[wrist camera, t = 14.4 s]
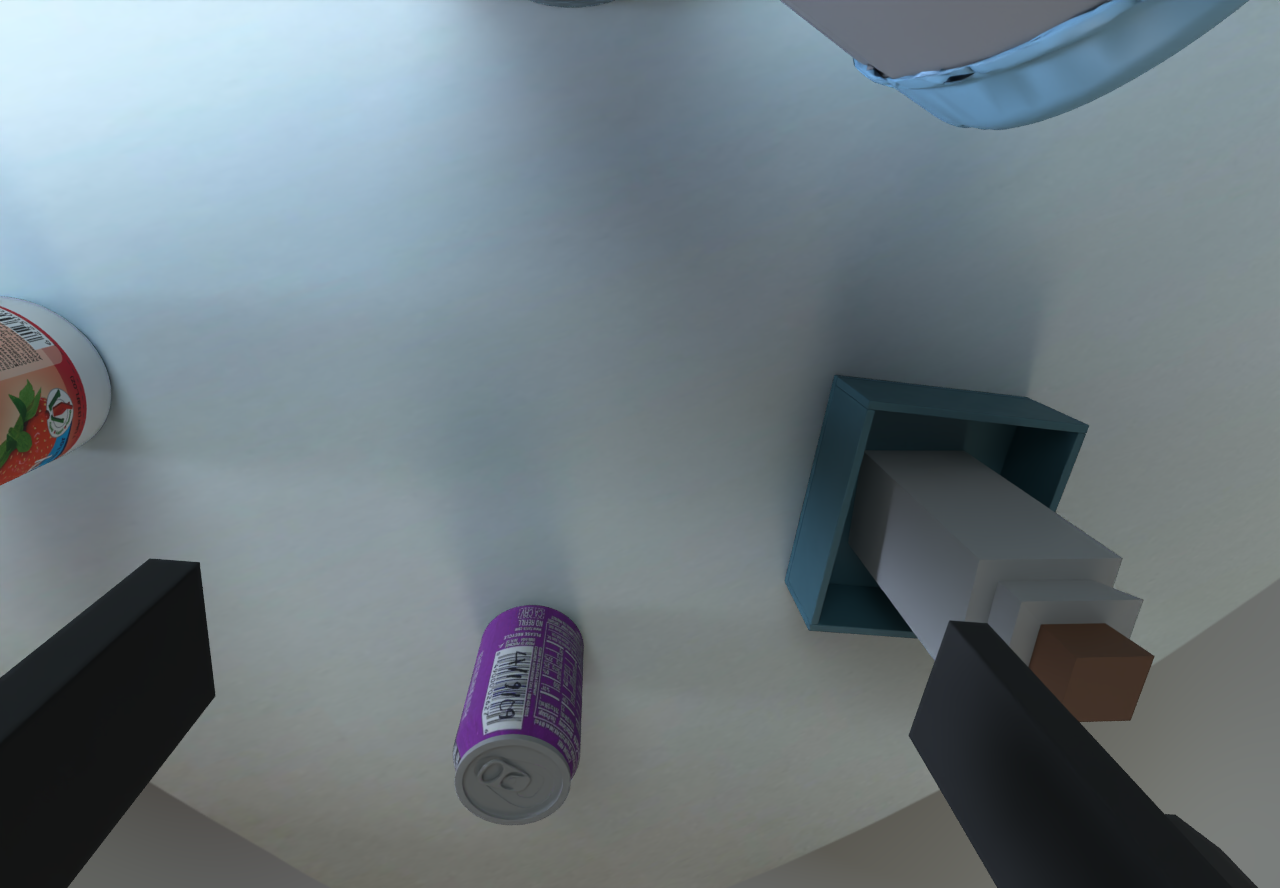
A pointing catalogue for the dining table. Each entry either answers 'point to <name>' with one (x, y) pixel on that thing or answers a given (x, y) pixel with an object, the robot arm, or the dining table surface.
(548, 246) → the dining table surface
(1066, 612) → the perfume bottle
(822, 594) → the case
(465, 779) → the beverage can
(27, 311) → the fruit juice
